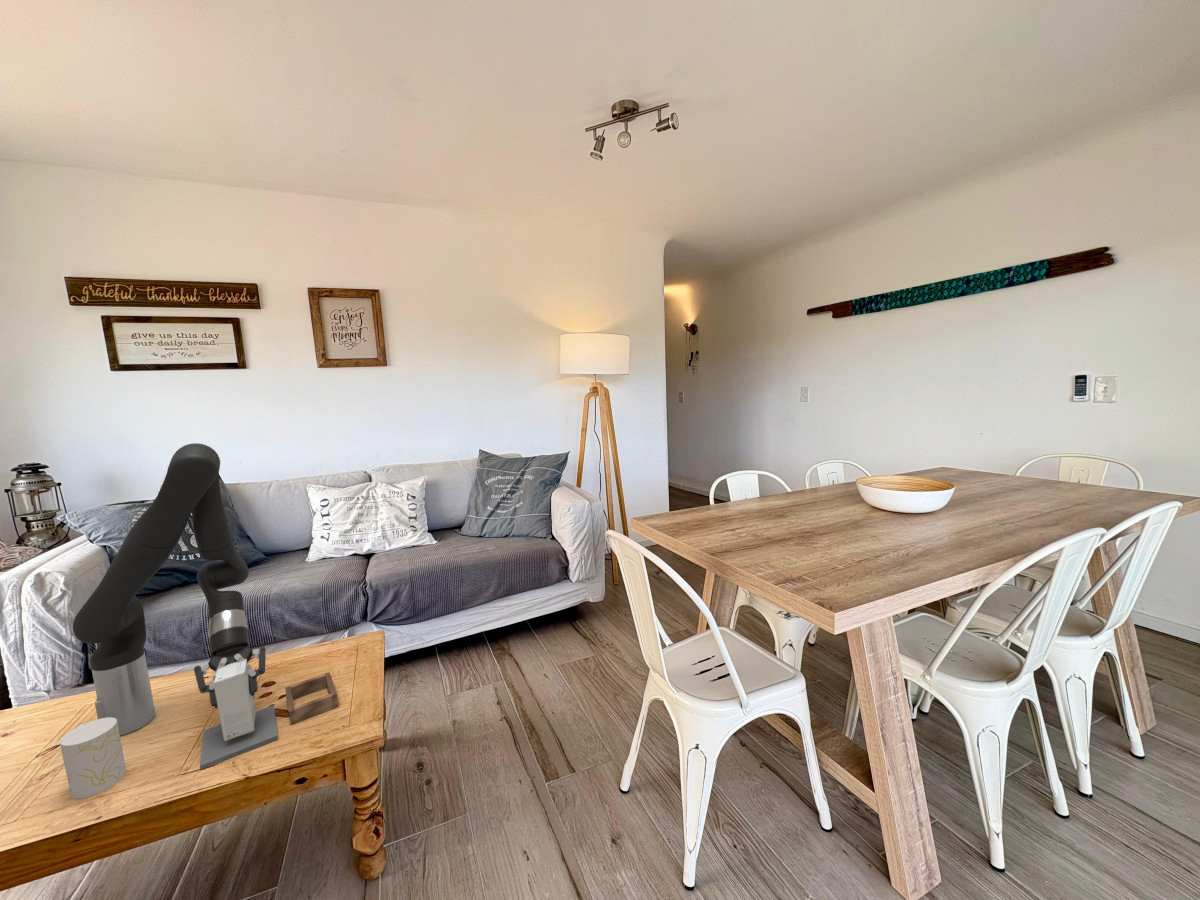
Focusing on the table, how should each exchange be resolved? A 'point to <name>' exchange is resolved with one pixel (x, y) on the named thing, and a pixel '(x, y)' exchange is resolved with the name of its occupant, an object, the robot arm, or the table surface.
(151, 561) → the robot arm
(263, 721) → the charcoal mat
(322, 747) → the table surface
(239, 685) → the skincare box
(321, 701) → the walnut collar
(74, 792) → the grey patterned cylinder
